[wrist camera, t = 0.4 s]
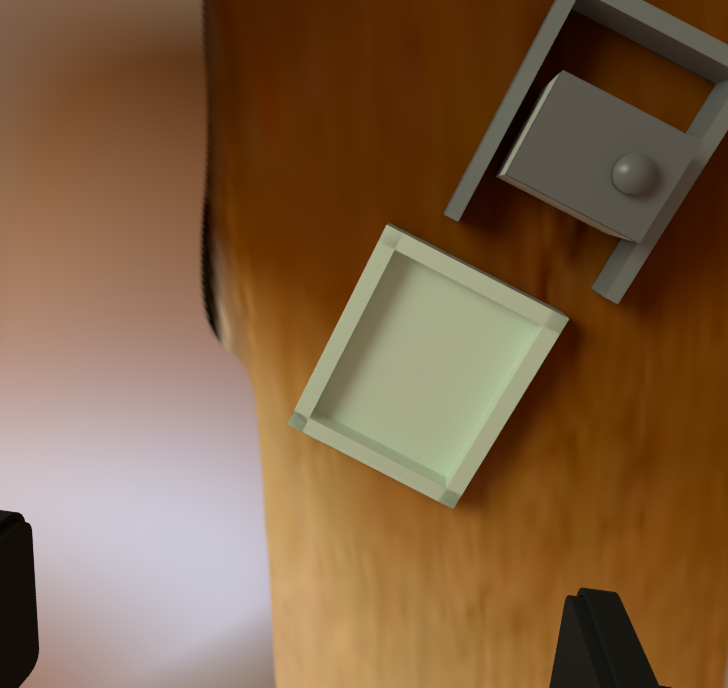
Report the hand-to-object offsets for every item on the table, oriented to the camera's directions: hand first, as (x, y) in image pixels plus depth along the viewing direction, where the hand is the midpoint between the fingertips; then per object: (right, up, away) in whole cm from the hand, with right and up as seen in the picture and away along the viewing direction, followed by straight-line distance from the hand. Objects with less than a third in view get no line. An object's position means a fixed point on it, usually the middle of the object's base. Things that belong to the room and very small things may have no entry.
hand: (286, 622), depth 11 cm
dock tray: (+5, +3, +27) cm, 28 cm away
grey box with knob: (+13, +15, +24) cm, 31 cm away
